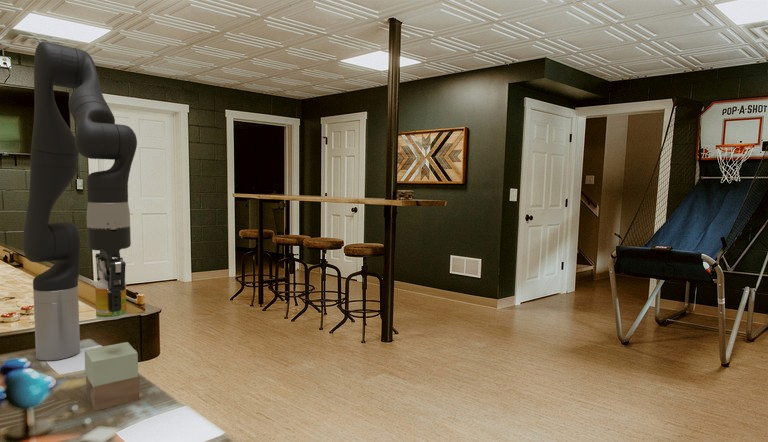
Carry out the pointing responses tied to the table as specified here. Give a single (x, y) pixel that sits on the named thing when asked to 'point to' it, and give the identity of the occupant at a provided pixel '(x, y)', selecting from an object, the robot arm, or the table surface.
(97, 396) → the tower base
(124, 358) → the tower top
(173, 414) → the table surface
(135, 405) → the table surface
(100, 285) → the supplement bottle
